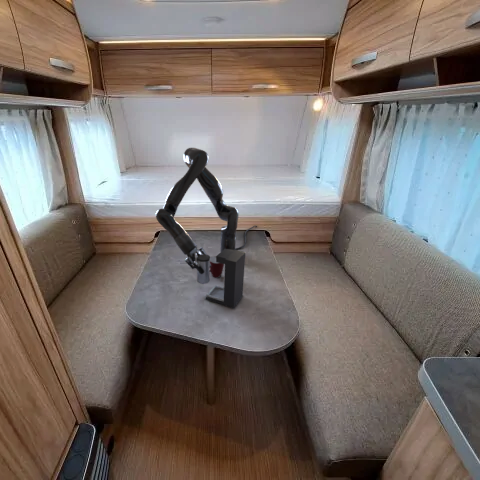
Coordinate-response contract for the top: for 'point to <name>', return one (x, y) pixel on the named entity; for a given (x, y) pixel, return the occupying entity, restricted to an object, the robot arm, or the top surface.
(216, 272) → the mug
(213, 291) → the coffee maker
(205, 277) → the lidded canister
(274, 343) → the top surface
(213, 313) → the top surface
